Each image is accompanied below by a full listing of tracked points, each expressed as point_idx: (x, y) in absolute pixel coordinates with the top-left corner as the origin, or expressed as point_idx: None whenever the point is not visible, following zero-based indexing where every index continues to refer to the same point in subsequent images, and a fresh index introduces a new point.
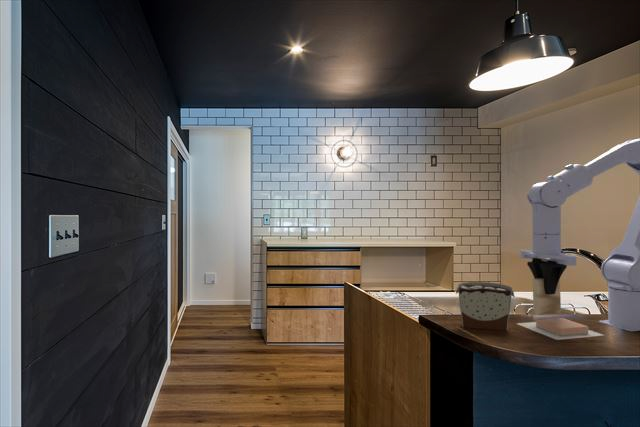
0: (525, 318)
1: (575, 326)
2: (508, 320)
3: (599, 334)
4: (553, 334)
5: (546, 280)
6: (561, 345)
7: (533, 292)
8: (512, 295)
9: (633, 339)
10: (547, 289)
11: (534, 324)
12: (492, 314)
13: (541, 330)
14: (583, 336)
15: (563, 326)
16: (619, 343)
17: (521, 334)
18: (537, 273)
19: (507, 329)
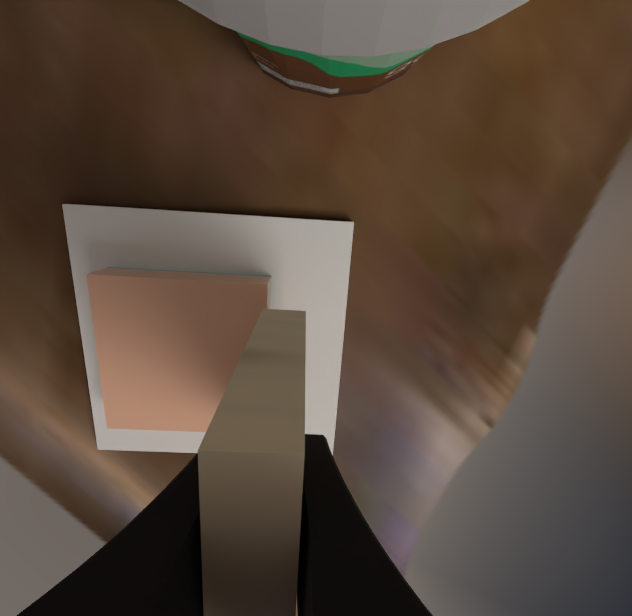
0: (437, 364)
1: (115, 375)
2: (251, 50)
3: (110, 440)
4: (141, 257)
5: (136, 523)
6: (24, 186)
7: (297, 365)
8: (224, 11)
9: (71, 512)
10: (195, 456)
11: (308, 301)
12: None
13: (211, 253)
14: (92, 359)
15: (123, 321)
16: (31, 433)
17: (216, 128)
18: (309, 609)
19: (262, 68)
